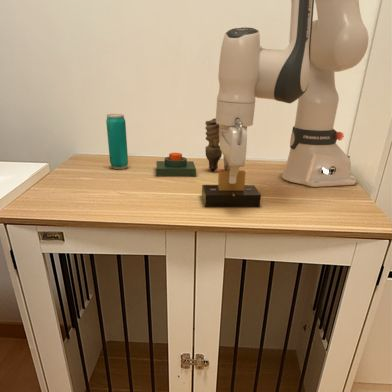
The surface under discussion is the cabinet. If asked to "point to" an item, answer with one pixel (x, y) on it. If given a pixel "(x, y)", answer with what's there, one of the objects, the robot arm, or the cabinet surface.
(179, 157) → the button
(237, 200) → the panel
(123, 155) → the beverage can
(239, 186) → the tan rectangular block
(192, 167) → the button block
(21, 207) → the cabinet surface
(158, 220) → the cabinet surface
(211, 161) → the light bulb
